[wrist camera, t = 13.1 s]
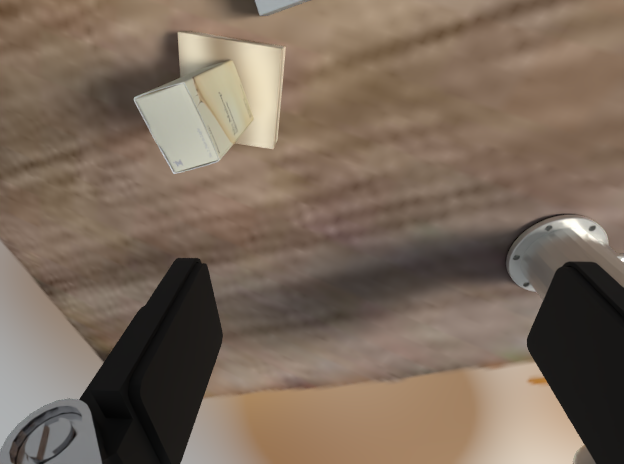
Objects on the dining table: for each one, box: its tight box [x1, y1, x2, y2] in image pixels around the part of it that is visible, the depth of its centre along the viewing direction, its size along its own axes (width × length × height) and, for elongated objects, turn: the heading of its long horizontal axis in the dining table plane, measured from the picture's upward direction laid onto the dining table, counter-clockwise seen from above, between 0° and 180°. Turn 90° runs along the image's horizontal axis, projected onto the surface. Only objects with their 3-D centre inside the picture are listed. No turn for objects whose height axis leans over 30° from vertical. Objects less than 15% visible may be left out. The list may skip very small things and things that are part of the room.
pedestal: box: [178, 31, 286, 149], centre depth 38 cm, size 10×10×4 cm
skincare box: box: [134, 60, 254, 174], centre depth 31 cm, size 6×4×12 cm
